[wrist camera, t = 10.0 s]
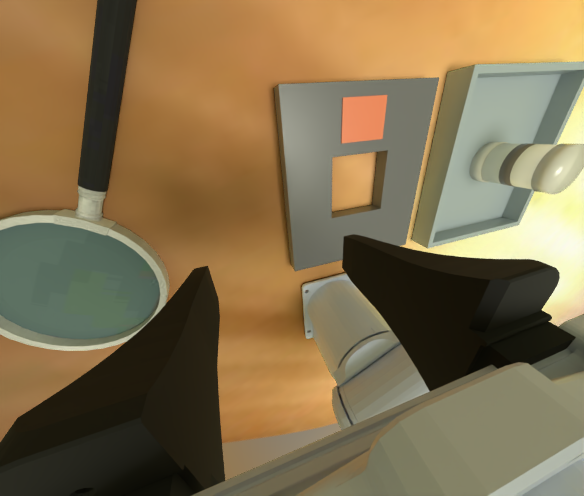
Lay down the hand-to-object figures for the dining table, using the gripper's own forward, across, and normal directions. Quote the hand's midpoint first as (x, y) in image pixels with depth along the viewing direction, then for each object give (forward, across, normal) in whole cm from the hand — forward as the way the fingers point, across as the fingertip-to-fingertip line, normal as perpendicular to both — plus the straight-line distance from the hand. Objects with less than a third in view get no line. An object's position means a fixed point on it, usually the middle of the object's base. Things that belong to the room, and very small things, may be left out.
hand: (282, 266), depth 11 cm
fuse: (+10, -27, -1) cm, 29 cm away
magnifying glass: (+11, +11, -4) cm, 16 cm away
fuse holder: (+10, -10, -1) cm, 14 cm away
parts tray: (+10, -27, -1) cm, 29 cm away
